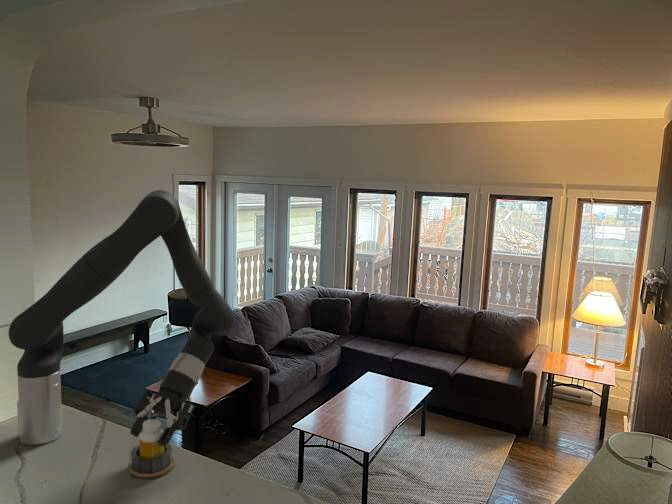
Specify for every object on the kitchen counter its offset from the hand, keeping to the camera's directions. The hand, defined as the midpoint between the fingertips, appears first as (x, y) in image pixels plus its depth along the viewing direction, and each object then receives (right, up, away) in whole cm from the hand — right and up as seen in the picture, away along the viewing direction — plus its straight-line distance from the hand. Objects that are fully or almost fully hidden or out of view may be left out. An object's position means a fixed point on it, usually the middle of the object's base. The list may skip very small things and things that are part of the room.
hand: (146, 440), depth 115 cm
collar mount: (0, -7, +2) cm, 7 cm away
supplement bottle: (0, -6, +2) cm, 6 cm away
